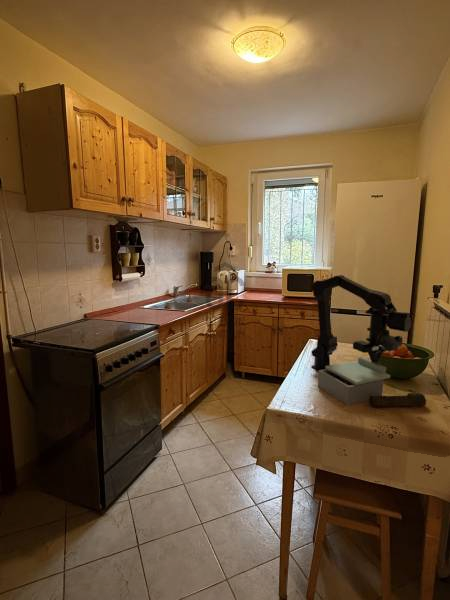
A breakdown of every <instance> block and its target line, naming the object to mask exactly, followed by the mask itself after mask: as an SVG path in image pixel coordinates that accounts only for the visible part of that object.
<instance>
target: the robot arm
mask: <svg viewBox="0 0 450 600" xmlns="http://www.w3.org/2000/svg"><path fill="white" fill-rule="evenodd" d="M337 287H340V288H342V289H343V290H345V291H348V293H350V294H353V295H355V296H356V297H358V298H360V299H362V300H363V301H364V302H365V304H366V305H368V307H369V308H368V309H367V310H366V311H364V312H365V313H364V314H367V315H370V322H369V323H370V324H369V327H367V329H366V330H367V331H369V334H368V337H366V341H365V340H357V341H353V343H352V349H353V350H356V351H358V352H361V353H367V354H368V356H369V358H370V359H369V360H370V361H372V362H374V363H377V364H379V362H380V360H381V357H382V356H383V354H384V353H385V352H393V351H397V350H398V349H399V348H400V347H402V346H403V337H402V336H401V335H395V336H394V335H391V334H390V330H394V331H400V332H405V333H408V332H409V331H410V329H411V326H412V320H411V316H410V312H408V311H407V312H404V311H403V312H402V311H398V310H397V309H396V307H395V305H394V303H393V302H392V298H391V295H390V294H388V293H386V292H383V291H380V290H374V289H371V288H368V287H365V286H364V285H362V284H360V283H358V282H356V281H354V280H352V279H350V278H349V277H345V276H344V275H342V274H341V275H340V274H339V275H334V276H332V277H330V278H327V279H322V280H321V279H320V280H315V281H314V282H313V283H312V285H311V291H312V294H313V296H314V298H315V299H316V302H317V312H318V314H317V315H318V327H319V335H318V338H317V341H316V342H317V343H316V347H315V348H314V349H312V350H311V351H310V352H311V356H312V357H314V364H313V365H311V368H313V369H315V370H317V371H318V372H319V370H324V369H325V366H329V365H331V358H330V356H331V355H333V353H334V352H335V351H336V350H337V348H338V346H339V344H338V336H334V335H333V333H332V322H331V320H332V319H331V309H330V299H331V297H332V291H333V289H334V288H337ZM387 327H388V329H387ZM389 329H390V330H389Z"/></svg>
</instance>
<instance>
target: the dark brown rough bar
mask: <svg viewBox="0 0 450 600" xmlns="http://www.w3.org/2000/svg"><path fill="white" fill-rule="evenodd" d="M368 402H369V405H370V407H371V408H373V409H374V408H377V409H378V408H380V407H408V406H409V408H410V407H411V409H412V408H413V409H414V408H421V407H425V406H426V405H427V399H426V396H425V395H424V394H423V393H419V392H418V393H415V392H414V393H413V392H410V393H407V395H382V396H372V395H370V397H369V400H368Z"/></svg>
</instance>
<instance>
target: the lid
mask: <svg viewBox="0 0 450 600" xmlns="http://www.w3.org/2000/svg"><path fill="white" fill-rule="evenodd" d="M357 359H358V360H353V361H347V362H342V363H336V364H330V365H329V366H325V369H327V370H329V371H331V372H333V373H335V374H337V375H338V376H340V377H342V378H344V379H346V380H348V381H350V382H351V383H353V384H355V385H359V384H363V383H368V382H373V381H377V380H382V379H383V380H386V379H390V378H391V374H388V373H387V367H386V366H383V365H381V364H379V363H378V364H377V363H374V362H372V361H371V359H367V358H364V357H363V356H359V357H358V358H357Z"/></svg>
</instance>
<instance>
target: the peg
mask: <svg viewBox="0 0 450 600" xmlns="http://www.w3.org/2000/svg"><path fill="white" fill-rule="evenodd" d="M343 383H345V384H347V385H349V386H350V385H355V384H353V383H351V382H350V381H348V380H346V379H344V382H343Z"/></svg>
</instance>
